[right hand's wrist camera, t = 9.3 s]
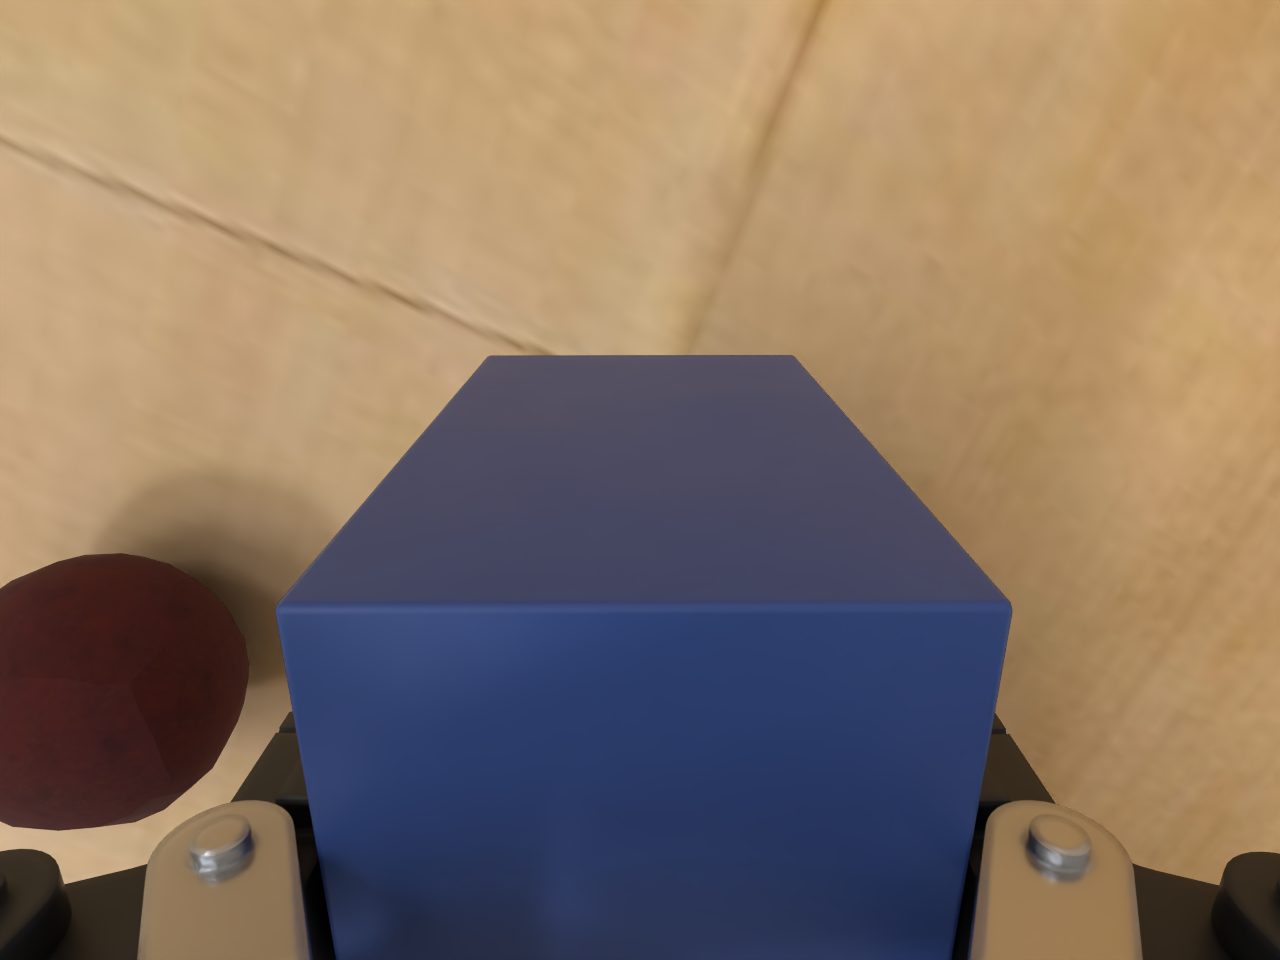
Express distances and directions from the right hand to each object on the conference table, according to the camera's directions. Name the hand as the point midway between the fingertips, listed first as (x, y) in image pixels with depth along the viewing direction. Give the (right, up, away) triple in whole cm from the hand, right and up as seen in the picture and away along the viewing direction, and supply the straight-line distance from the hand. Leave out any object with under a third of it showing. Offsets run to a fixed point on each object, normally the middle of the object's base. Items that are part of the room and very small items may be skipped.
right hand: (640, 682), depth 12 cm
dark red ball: (-15, -2, +15) cm, 21 cm away
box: (0, -6, +8) cm, 10 cm away
